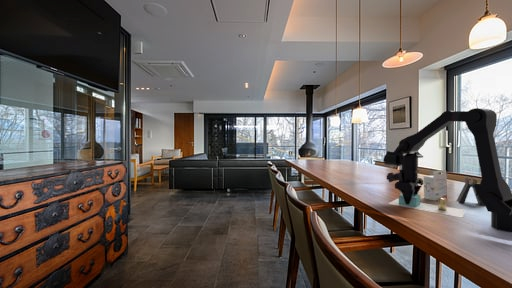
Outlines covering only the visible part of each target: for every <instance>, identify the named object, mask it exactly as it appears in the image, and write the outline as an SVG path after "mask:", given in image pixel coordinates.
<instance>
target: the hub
mask: <svg viewBox="0 0 512 288" xmlns="http://www.w3.org/2000/svg"><path fill="white" fill-rule="evenodd" d="M437 205H438V210H442V211H447V207H448V204H447V200H446V199H445V198H438V200H437Z"/></svg>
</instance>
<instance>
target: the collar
mask: <svg viewBox="0 0 512 288" xmlns="http://www.w3.org/2000/svg"><path fill="white" fill-rule="evenodd" d="M398 199H399V204H402V205H407V204H406V203H405V200H404V197H403V194H402V192H400V194H398ZM420 203H421V194H413V196H412V199H411V201H410V203H409V205H407V206H413V207H417V206H419V205H420Z"/></svg>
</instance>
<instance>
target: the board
mask: <svg viewBox="0 0 512 288" xmlns="http://www.w3.org/2000/svg"><path fill="white" fill-rule="evenodd" d="M388 205H393V206H398V207H403V208H409V209H415V210H420V211H425V212H430V213H436V214H440V215H441V214H442V215H446V216H452V217H457V218H463V217H464V216H465V214H466V212H467V209H462V208H455V207H449V206H447V211H442V210H438V204H431V203H425V202H420V205H419V206H417V207H413V206H407V205H402V204H399V198H396V199H394V200H392V201H391V202H388Z"/></svg>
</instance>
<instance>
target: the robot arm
mask: <svg viewBox="0 0 512 288" xmlns="http://www.w3.org/2000/svg"><path fill="white" fill-rule="evenodd" d="M453 122H459V123H460V122H461V123H462V122H463V123H465V124H466V127H467V129H468V130H469V132H470V133H471V134H472V136H473V138H474V143H475V149H476V154H477V158H478V165H479V170H480V175H481V180H480V182H477V183H475V188H476V192H477V193H476V196H479V199H480V201H481V202H483V203H484V204H485V206H484V207H485V208H486V210H487V212H489V213H490V214H491V215H490V219H491V220H490V224H491V225H490V226H491V227H492V228H494V229H496V230H497V231H502V232H507V233H512V190H511V188H510V185H509V184H508V183H507V182H506V180H505V179H504V178H503V175H502V171H501V165H500V161H499V155H498V151H497V146H496V141H495V136H494V134H495V131H496V128H497V113H496V112H495V110H492V109H488V108H479V107H478V108H476V107H474V108H471V109H469V110H467V111H465V110H463V111H461V110H460V111H459V110H458V111H456V110H445V111H443V112H441V114H440V115H438V117H436V118H435V119H434V120H432V121H431V122H429V124H427V125H426V126H424V127H423V128H422V129H420V130H419V131H418V132H416V133H414V134H411V135H409V136H407V137H405V138H402V139H401V140H400V141H399V142H398V146H396V148H395V150H394V151H392V150H389V151H388V150H387V151H386V154H385V155H384V156H383V163H384V165H386V166H393V167H401V169H400V170H399V171H398V172H395V173H394V172H389V173H387V175H386V180H387V181H388V182H389V183H392V182H395V181H396V182H395V183H394V189H397V190H398V191H399V192H400V193H402V194H403V197H404V200H405V203H406V204H407V205H409V203H410V201H411V199H412V196H413V194H417V195H419V192H420V190H421V188H422V186H424V179H423V178H420V177H418V176H419V175H418V173H419V172H420V169H419V168H418V158H419V159H420V158H424V155H422V154H421V153H420V152H419V151H420V149H421V148H422V147H423V146H424V145H425V143H426V142H427V141H428V140H430V138H432V137H433V136H435V135H437V133H439V132H441V131H442V130H444V129H445V128H447V127H448V126H450V125H452V123H453ZM476 196H475V197H476Z"/></svg>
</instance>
